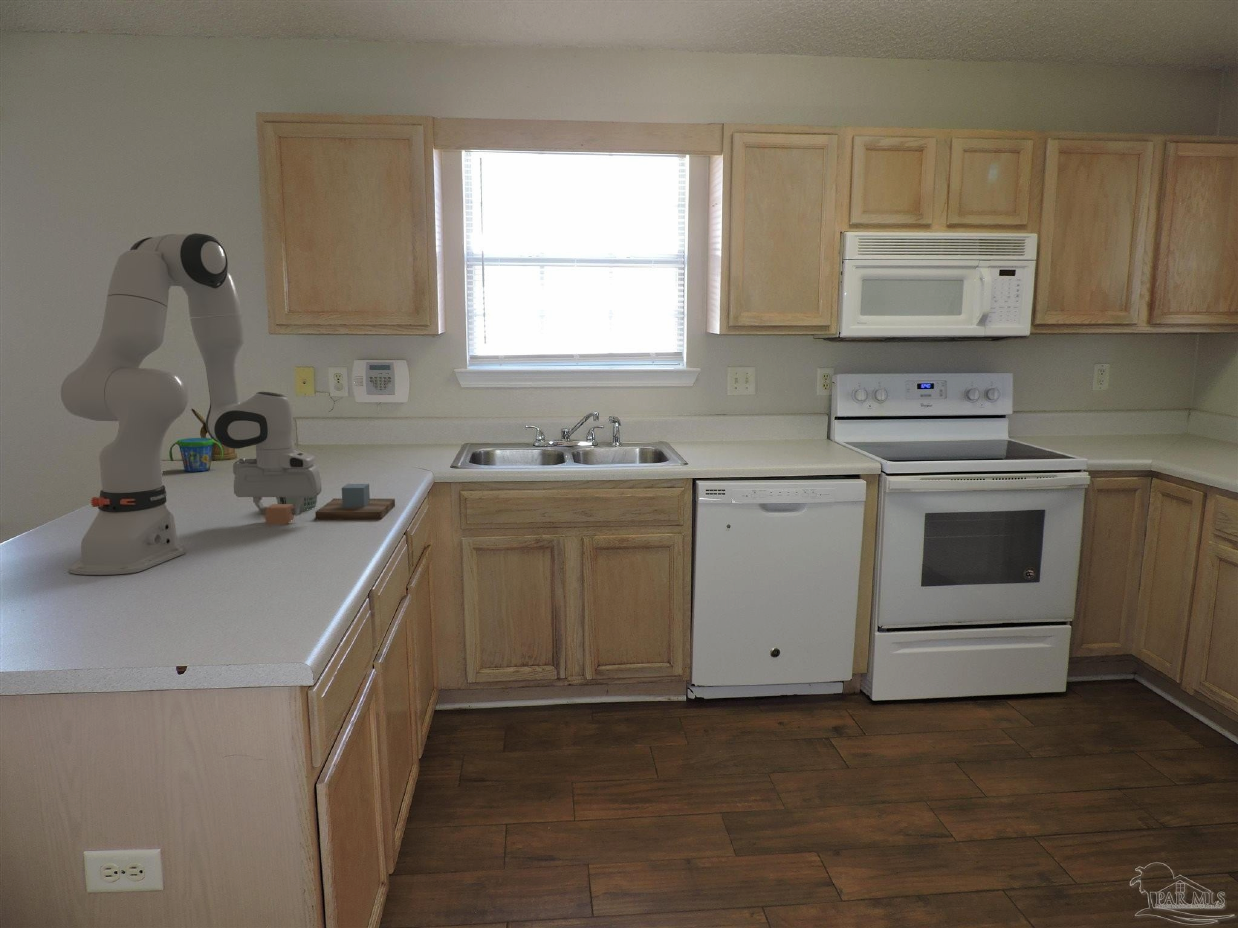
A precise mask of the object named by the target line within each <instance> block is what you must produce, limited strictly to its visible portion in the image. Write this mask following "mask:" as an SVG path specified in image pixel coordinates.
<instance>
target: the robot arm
mask: <svg viewBox="0 0 1238 928" xmlns="http://www.w3.org/2000/svg"><path fill="white" fill-rule="evenodd" d="M228 266H229V261H228V256H227V252H226V250H225V248H224V247H223V245H222V244H221V242H220V241H219V240H218V239H217V238H215V237H214V236H211V235H209V234H206V233H205V234H204V233H197V232H195V233H191V234H189V233H188V234H187V233H186V234H185V233H184V234H183V233H180V234H177V233H169V234H163V235H157V236H154V237H150V236H149V237H146V238H143V239H140V240H138V241H136V242H135V243H133V245H132V246H131V247H130V248H129V250H126V251H124V252H122V253H121V254H120V255H119V256H118V257H117V261H116V262H115V265H114V268H113V271H112V273H111V277H110V281H109V286H108V289H107V290H108V291H107V296H106V302H105V303H106V304H105V308H104V315H103V320H102V326H101V329H100V333H99V336H98V338H97V341H96V343H95V345H94V347H93V348H92V350H91V352H90V353H89V355H88V356H87V357H86V359H85V360H84V361H83V362H82V364H81V365H80V366H78V367H77V368H76V369H74V370H72V371H71V372H70V373H68V374H67V375H66V376H65V378H64V379H63V381H62V383H61V387H60V399H61V401H62V405H63V406H64V407H65V409H66V410H67V411H68V412H69V413H70V414H71V415H73V416H76V417H79V418H82V419H87V420H92V421H96V422H97V421H98V422H118V429H117V430H118V431H117V434H116V437H115V439H114V440H113V441H111V442H110V443H108V444H106V445H105V446H104V447H103V448H102V449H101V451H100V453H99V457H98V458H99V470H100V479H101V490H100V491H99V497H97V496H93V497H91V500H90V506H91V508H97V509H98V513H97V515H96V516H95V518H94V519H93V521H92V523H91V524H90V525H89V527H88V529H87V531H86V533H85V534H84V535H83V537H82V539H81V543H80V553H81V555H80V556H81V557H80V558H79V559H77V560H76V561H75V562H74V563H72V564H71V565H69V567H68V569H67V570H68V573H69V574H70V573H71V574H74V575H88V576H89V575H91V576H97V575H98V576H104V575H105V576H106V575H125V574H134V573H139V572H142V571H145V570H147V569H149V568H152V567H154V566H157V565H159V564H163V563H165V562H167V561H169V560H172V559H175V558H176V557H179V556H182V555H184V554H185V553H186V551H185V547H182V546H179V541H178V535H177V528H176V523H175V517H174V514H172V512H170V511H169V509H168V508H167V506H166V503H167V501H168V500H167V490H166V486H165V485H164V483H163V469H162V464H163V463H162V450H163V449H162V448H163V443H164V440H165V437H166V434H167V432H168V430H169V429H170V427H171V426H172V424H173V423H174V422H175V421H176V420H177V419H178V418H180V417H181V416H182V414H184V412H185V410H186V408H187V406H188V401H189V393H188V388H187V386H186V384H185V381H184V380H183V379H182V377H180V376H179V375H178V374H176V373H172V372H169V371H166V370H160V369H158V368H142V367H141V368H140V365H141V364H142V362H143V361H144V360H145V359H146V358H147V357H148V356H149V355H150V354H152V353H154V352H156V351H157V350H158V349H160V347H161V346H162V344H163V341H164V337H165V328H166V321H167V314H168V306H169V294H170V288H171V287H180V288H181V287H182V289H183V291H184V292H185V294H186V296H187V304H188V314H189V318H190V324H191V330H192V334H193V336H194V339H195V343H196V345H197V348H198V349H199V353H200V355H201V357H202V360H203V362H204V366H205V371H206V377H207V385H208V392H209V399H210V401H209V403H210V404H209V408H208V411H207V414H206V419H205V421H206V430H207V434H208V436H209V438H212V439H213V440H215V441H216V442H218V443H220V444H222V445H224V446H225V447H228V448H232V449H235V450H237V449H238V450H239V449H243V448H246V447H252V446H255V453H256V454H255V456H256V458H238V459H237V460H236V461H235V462H233V465H232V471H233V475H234V479H233V494H234V495H235V496H236V497H237V498H252V502H253V503H254V505H255V506H256V508H257V509H258V515H259V516H266V513H265V508H267V507H268V506H264V505H263V502H261V501H262V500H263V498H276V497H295V501H298V502H297V504H296V506H295V507H293V508H291V511H292V513H291V514H292V515H294V516H299V515H300V514H301V511H300V506H301V504H302V502H303V500H304V497H316V496H317V497H318V496H319V495H320V494H321V493H322V490H323V489H322V481H321V480H322V479H321V475H320V471H319V468H318V467H317V466H316V465H315V464H316V462H317V461H316V455H315V456H314V455H313V454H311V453H310V454H309V453H307V452H303V451H300V450H296V445H295V444H296V443H295V441H294V438H293V437H294V436H293V433H294V430H295V423H294V413H293V408H292V404H291V401H290V399H289V398H288V397H287V396H285V395H283V394H281V393H277V392H270V391H258V392H256V393H255V394H254V395H252V396H251V397H249V398H248V399H246V400H244V401H242V402H241V401H240V398H239V392H238V391H239V390H238V384H237V377H236V360H237V357H238V355H239V352H240V350H241V349H242V347H243V344H244V339H245V324H244V315H243V312H242V311H243V310H242V305H241V301H240V295H239V294H238V290H237V287H236V284H235V281H234V278H233V276H232V275H231V273H230V272H229V271H228V268H229V267H228Z"/></svg>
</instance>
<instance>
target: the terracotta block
mask: <svg viewBox="0 0 1238 928" xmlns="http://www.w3.org/2000/svg"><path fill="white" fill-rule="evenodd" d="M266 507H267V508H265V513H266V515H265V524H266V525H288V524H289V523H291V522H292V521H294V520H293V519H295V518H294V516H295V515H292V514H291V513H292V511H291V508H293V504H278V503H276V504H275V503H272V504H270V505H269V506H266ZM291 520H292V521H291ZM287 523H288V524H287Z"/></svg>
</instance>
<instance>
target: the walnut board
mask: <svg viewBox="0 0 1238 928" xmlns="http://www.w3.org/2000/svg"><path fill="white" fill-rule="evenodd" d="M395 507H396V499H395V498H370V503H369V504H368V505H367V506H365V507H342V498H333V499H332V500H330V501H328V502H327V503H326V504H324V505H323V506H320V508H318V509H317V510H316V511H315V513H314V515H315V520H316V519H318V520H317V521H320V520H323V521H326V520H329V519H330V520H332V521H333V520H334V521H335V520H336V519H346V520H347V521H350V520H351V521H355V520H358V521H359V520H361V521H363V520H366V521H367V520H369V521H370V520H371V521H372V520H373V521H374V520H376V521H377V520H379V521H381V520H382V519H384V517H386V516H387V515H388V513H390V512H391V511H392V509H394V508H395ZM346 520H345V521H346ZM336 521H337V520H336Z"/></svg>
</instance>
